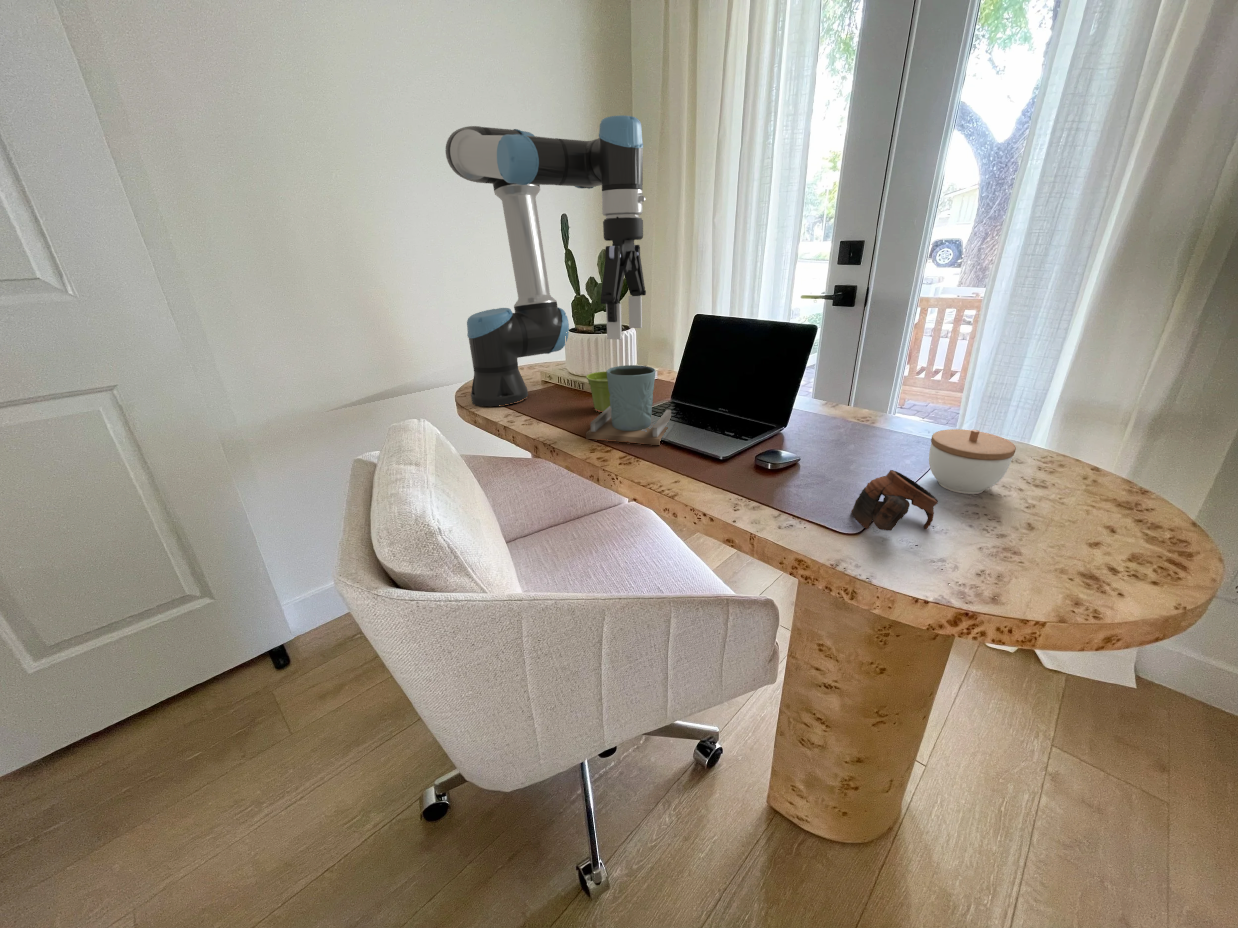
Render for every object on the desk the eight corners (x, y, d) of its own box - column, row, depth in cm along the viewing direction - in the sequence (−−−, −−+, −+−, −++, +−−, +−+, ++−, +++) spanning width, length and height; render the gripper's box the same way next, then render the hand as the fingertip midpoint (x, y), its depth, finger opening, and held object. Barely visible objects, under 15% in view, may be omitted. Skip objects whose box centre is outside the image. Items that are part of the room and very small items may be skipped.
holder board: (586, 439, 104) (585, 423, 102) (608, 418, 116) (608, 404, 114) (659, 446, 99) (659, 429, 97) (675, 423, 111) (675, 409, 109)
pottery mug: (847, 503, 76) (883, 460, 73) (904, 542, 73) (944, 499, 70) (842, 520, 65) (884, 471, 62) (908, 567, 62) (955, 518, 59)
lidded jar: (1016, 503, 73) (1035, 444, 69) (936, 499, 75) (950, 441, 71) (982, 473, 82) (997, 420, 78) (912, 470, 84) (924, 418, 81)
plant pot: (610, 402, 128) (608, 369, 125) (633, 409, 122) (632, 375, 118) (580, 409, 123) (578, 375, 119) (603, 418, 116) (602, 382, 113)
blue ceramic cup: (599, 427, 106) (596, 372, 101) (626, 414, 113) (624, 362, 109) (639, 435, 100) (637, 377, 96) (664, 421, 108) (664, 367, 103)
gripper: (620, 213, 80) (623, 345, 88) (659, 218, 101) (659, 324, 110) (577, 215, 82) (585, 343, 91) (625, 220, 103) (627, 323, 112)
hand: (625, 333), depth 100 cm, fingers open, 13 cm apart
